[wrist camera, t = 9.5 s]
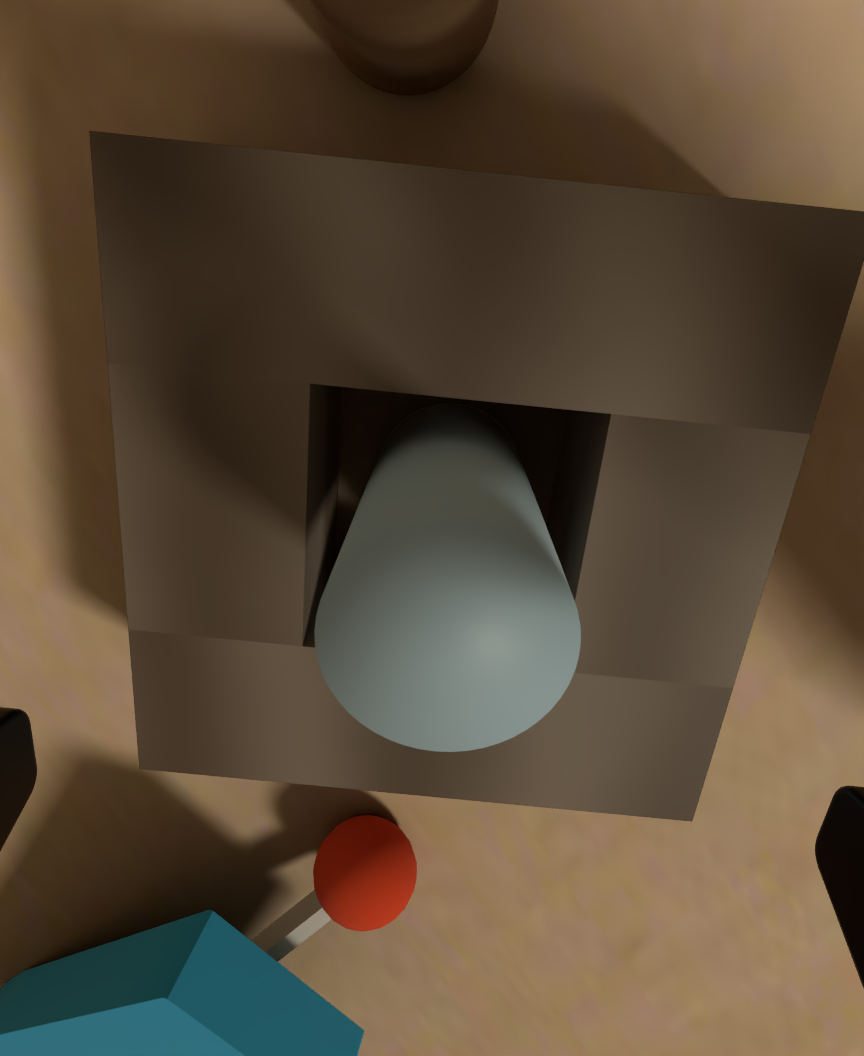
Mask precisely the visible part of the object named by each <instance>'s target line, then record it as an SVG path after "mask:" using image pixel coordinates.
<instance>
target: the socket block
mask: <svg viewBox="0 0 864 1056" xmlns="http://www.w3.org/2000/svg"><path fill="white" fill-rule="evenodd" d="M89 133H90V146H91V159H92V171H93V184H94V197H95V210H96V222H97V235H98V248H99V261H100V273H101V286H102V299H103V312H104V324H105V337H106V350H107V363H108V375H109V388H110V401H111V414H112V426H113V439H114V452H115V465H116V477H117V490H118V503H119V516H120V528H121V541H122V554H123V567H124V579H125V592H126V605H127V618H128V630H129V643H130V656H131V669H132V681H133V694H134V707H135V720H136V732H137V745H138V758H139V769H146V770H157V771H167V772H178V773H188V774H199V775H209V776H220V777H230V778H241V779H251V780H262V781H272V782H283V783H293V784H304V785H315V786H325V787H336V788H346V789H357V790H367V791H378V792H388V793H399V794H409V795H420V796H430V797H441V798H451V799H462V800H472V801H483V802H493V803H504V804H514V805H525V806H535V807H546V808H557V809H567V810H578V811H588V812H599V813H609V814H620V815H630V816H641V817H651V818H662V819H672V820H683V821H692V820H693V817H694V814H695V811H696V807H697V804H698V801H699V798H700V794H701V791H702V788H703V784H704V781H705V778H706V775H707V771H708V768H709V765H710V762H711V758H712V755H713V752H714V749H715V745H716V742H717V739H718V735H719V732H720V729H721V726H722V722H723V719H724V716H725V713H726V709H727V706H728V703H729V700H730V696H731V693H732V690H733V686H734V683H735V680H736V677H737V673H738V670H739V667H740V664H741V660H742V657H743V654H744V651H745V647H746V644H747V641H748V637H749V634H750V631H751V628H752V624H753V621H754V618H755V615H756V611H757V608H758V605H759V602H760V598H761V595H762V592H763V588H764V585H765V582H766V579H767V575H768V572H769V569H770V566H771V562H772V559H773V556H774V552H775V549H776V546H777V543H778V539H779V536H780V533H781V530H782V526H783V523H784V520H785V517H786V513H787V510H788V507H789V503H790V500H791V497H792V494H793V490H794V487H795V484H796V481H797V477H798V474H799V471H800V468H801V464H802V461H803V458H804V454H805V451H806V448H807V445H808V441H809V438H810V435H811V432H812V428H813V425H814V422H815V419H816V415H817V412H818V409H819V405H820V402H821V399H822V396H823V392H824V389H825V386H826V383H827V379H828V376H829V373H830V370H831V366H832V363H833V360H834V356H835V353H836V350H837V347H838V343H839V340H840V337H841V334H842V330H843V327H844V324H845V320H846V317H847V314H848V311H849V307H850V304H851V301H852V298H853V294H854V291H855V288H856V285H857V281H858V278H859V275H860V271H861V268H862V265H863V262H864V212H862V211H853V210H843V209H834V208H824V207H814V206H805V205H795V204H786V203H776V202H766V201H757V200H747V199H738V198H728V197H718V196H709V195H699V194H690V193H680V192H670V191H661V190H651V189H642V188H632V187H622V186H613V185H603V184H594V183H584V182H575V181H565V180H555V179H546V178H536V177H527V176H517V175H507V174H498V173H488V172H479V171H469V170H459V169H450V168H440V167H431V166H421V165H411V164H402V163H392V162H383V161H373V160H363V159H354V158H344V157H335V156H325V155H315V154H306V153H296V152H287V151H277V150H267V149H258V148H248V147H239V146H229V145H219V144H210V143H200V142H191V141H181V140H171V139H162V138H152V137H143V136H133V135H123V134H114V133H104V132H95V131H89ZM343 387H349V388H359V389H369V390H379V391H388V392H398V393H408V394H418V395H428V396H438V397H448V398H458V399H468V400H478V401H488V402H497V403H507V404H517V405H527V406H537V407H547V408H557V409H567V414H566V420H565V426H564V432H563V438H562V444H561V450H560V456H559V462H558V468H557V473H556V479H555V485H554V491H553V497H552V503H551V509H550V515H549V521H548V526H547V530H548V532H549V535H550V538H551V540H552V543H553V545H554V548H555V551H556V553H557V556H558V559H559V561H560V564H561V566H562V569H563V572H564V574H565V577H566V579H567V582H568V585H569V587H570V590H571V593H572V595H573V598H574V601H575V604H576V607H577V610H578V615H579V620H580V626H581V645H580V653H579V658H578V662H577V665H576V669H575V672H574V674H573V677H572V679H571V681H570V683H569V685H568V687H567V689H566V690H565V692H564V694H563V695H562V697H561V698H560V699H559V701H558V702H557V703H556V704H555V706H554V707H553V708H552V709H551V710H550V711H549V712H548V713H547V714H546V715H545V716H544V717H543V718H542V719H541V720H540V721H538V722H537V723H535V724H534V725H533V726H531V727H530V728H529V729H527V730H526V731H524V732H522V733H520V734H518V735H517V736H515V737H513V738H511V739H508V740H506V741H503V742H501V743H499V744H495V745H492V746H488V747H485V748H481V749H475V750H469V751H458V752H438V751H429V750H422V749H417V748H413V747H409V746H405V745H402V744H399V743H396V742H394V741H391V740H389V739H386V738H384V737H383V736H381V735H379V734H377V733H375V732H373V731H372V730H370V729H369V728H367V727H366V726H364V725H363V724H361V723H360V722H359V721H358V720H356V719H355V718H354V717H353V716H352V715H351V714H349V713H348V712H347V710H346V709H345V708H344V707H343V706H342V705H341V704H340V703H339V702H338V700H337V699H336V697H335V696H334V694H333V693H332V692H331V690H330V689H329V687H328V685H327V683H326V681H325V679H324V677H323V675H322V672H321V669H320V666H319V663H318V659H317V654H316V649H315V633H314V630H315V621H316V614H317V611H318V607H319V603H320V600H321V597H322V595H323V592H324V590H325V587H326V585H327V582H328V580H329V577H330V575H331V573H332V570H333V568H334V564H335V543H336V521H337V500H338V479H339V458H340V436H341V415H342V394H343Z"/></svg>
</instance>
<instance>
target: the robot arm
mask: <svg viewBox="0 0 864 1056" xmlns="http://www.w3.org/2000/svg"><path fill="white" fill-rule="evenodd" d="M36 776H37V765H36V758H35V751H34V745H33V738H32V731H31V725H30V720H29V717H28V715H27V714H26V713H25V712H24V711H22V710H20V709H14V708H3V707H0V851H1V849H2V847H3V845H4V843H5V842H6V840H7V838H8V836H9V834H10V832H11V830H12V828H13V827H14V825H15V823H16V821H17V819H18V817H19V815H20V814H21V812H22V810H23V808H24V806H25V804H26V802H27V800H28V799H29V797H30V795H31V793H32V791H33V788H34V785H35V781H36ZM815 855H816V861H817V864H818V868H819V870H820V873H821V876H822V878H823V881H824V884H825V886H826V889H827V892H828V894H829V897H830V900H831V902H832V905H833V908H834V910H835V913H836V916H837V919H838V921H839V924H840V927H841V929H842V932H843V935H844V937H845V940H846V943H847V945H848V948H849V951H850V953H851V956H852V959H853V961H854V964H855V967H856V969H857V972H858V975H859V977H860V980H861V983H862V985H863V988H864V787H857V786H844V787H841V788H840V789H838V790H837V791H836V792H835V794H834V796H833V798H832V801H831V803H830V806H829V808H828V811H827V813H826V816H825V818H824V821H823V823H822V826H821V828H820V831H819V833H818V836H817V839H816V844H815Z"/></svg>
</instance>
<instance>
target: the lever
mask: <svg viewBox="0 0 864 1056" xmlns="http://www.w3.org/2000/svg"><path fill="white" fill-rule="evenodd" d="M416 874H417V863H416V859H415V856H414V852H413V849H412V846H411V843H410V841H409V840H408V838H407V837H406V836H405V834H404V833H403V832H402V830H401V829H400V828H399V827H398V826H396V825H395V824H393V823H392V822H390V821H389V820H387V819H385V818H381V817H378V816H375V815H360V816H357V817H353V818H350V819H347V820H346V821H344V822H342V823H341V824H339V825H337V826H336V827H335V828H334V830H333V831H332V832H331V833H330V834H329V835H328V836H327V837H326V838H325V839H324V841H323V842H322V844H321V846H320V849H319V851H318V853H317V856H316V860H315V864H314V870H313V875H314V888H315V890H314V891H313V892H311V893H310V894H309V895H307V896H306V897H305V898H304V899H302V900H301V901H300V902H299V903H297V904H296V905H295V906H294V907H292V908H291V909H290V910H288V911H287V912H286V913H285V914H283V915H282V916H281V917H280V918H278V919H277V920H276V921H274V922H273V923H272V924H271V925H269V926H268V927H267V928H266V929H264V930H263V931H262V932H261V933H259V934H258V935H257V936H255V937H254V938H253V939H252V940H249V939H248V938H247V937H245V936H244V935H243V934H242V933H240V932H239V931H238V930H237V929H235V928H234V927H233V926H232V925H230V924H229V923H228V922H226V921H225V920H224V919H223V918H221V917H220V916H219V915H218V914H216V913H215V912H214V911H212V910H206V911H203V912H200V913H197V914H194V915H191V916H188V917H185V918H182V919H179V920H176V921H173V922H170V923H167V924H164V925H161V926H158V927H155V928H152V929H149V930H146V931H143V932H140V933H137V934H134V935H131V936H128V937H125V938H122V939H119V940H116V941H113V942H110V943H107V944H104V945H101V946H97V947H94V948H91V949H88V950H85V951H82V952H79V953H76V954H73V955H70V956H67V957H64V958H61V959H58V960H55V961H52V962H49V963H46V964H43V965H40V966H37V967H34V968H31V969H28V970H25V971H22V972H21V973H20V974H18V975H17V976H15V977H14V978H12V979H11V980H9V981H8V982H7V983H5V984H4V986H3V987H2V989H1V990H0V1056H357V1055H358V1052H359V1048H360V1045H361V1041H362V1038H363V1034H364V1030H363V1029H362V1028H360V1027H359V1026H358V1025H357V1024H355V1023H354V1022H353V1021H351V1020H350V1019H349V1018H348V1017H346V1016H345V1015H344V1014H343V1013H341V1012H340V1011H339V1010H338V1009H336V1008H335V1007H334V1006H333V1005H331V1004H330V1003H329V1002H327V1001H326V1000H325V999H324V998H322V997H321V996H320V995H319V994H317V993H316V992H315V991H314V990H312V989H311V988H310V987H309V986H307V985H306V984H305V983H303V982H302V981H301V980H300V979H298V978H297V977H296V976H295V975H293V974H292V973H291V972H290V971H288V970H287V969H286V968H285V967H283V966H282V965H281V964H280V963H278V961H279V960H280V959H282V958H283V957H284V956H285V955H287V954H288V953H289V952H291V951H292V950H293V949H294V948H296V947H297V946H298V945H299V944H301V943H302V942H303V941H305V940H306V939H307V938H308V937H310V936H311V935H312V934H314V933H315V932H316V931H317V930H319V929H320V928H321V927H323V926H324V925H325V924H326V923H328V922H329V921H330V920H333V921H335V922H336V923H338V924H340V925H341V926H343V927H345V928H347V929H351V930H355V931H369V930H374V929H378V928H381V927H383V926H385V925H386V924H388V923H390V922H391V921H393V920H394V919H395V918H396V917H397V916H398V915H399V914H400V913H401V912H402V911H403V910H404V909H405V907H406V905H407V903H408V901H409V899H410V898H411V895H412V893H413V891H414V888H415V883H416Z"/></svg>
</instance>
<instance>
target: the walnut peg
mask: <svg viewBox="0 0 864 1056" xmlns="http://www.w3.org/2000/svg"><path fill="white" fill-rule="evenodd" d="M309 1H310V3H311V5H312V7H313V9H314V11H315V13H316V15H317V17H318V19H319V21H320V23H321V24H322V26H323V28H324V30H325V32H326V34H327V36H328V38H329V40H330V42H331V44H332V46H333V48H334V49H335V51H336V52H337V54H338V55H339V57H340V58H341V60H342V61H343V62H344V63H345V64H346V66H347V67H348V68H349V69H350V70H351V71H352V72H353V73H354V74H356V75H357V76H358V77H359V78H361V79H362V80H363V81H365V82H366V83H368V84H370V85H372V86H374V87H375V88H377V89H380V90H383V91H386V92H389V93H394V94H399V95H416V94H423V93H427V92H430V91H434V90H436V89H438V88H441V87H443V86H445V85H447V84H448V83H450V82H451V81H453V80H455V79H456V78H457V77H458V76H459V75H461V74H462V73H463V72H464V71H465V70H466V69H467V68H468V67H469V66H470V65H471V63H472V62H473V61H474V60H475V58H476V57H477V55H478V54H479V53H480V51H481V49H482V48H483V46H484V44H485V42H486V40H487V38H488V36H489V33H490V31H491V28H492V25H493V22H494V18H495V15H496V10H497V4H498V0H309Z"/></svg>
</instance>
